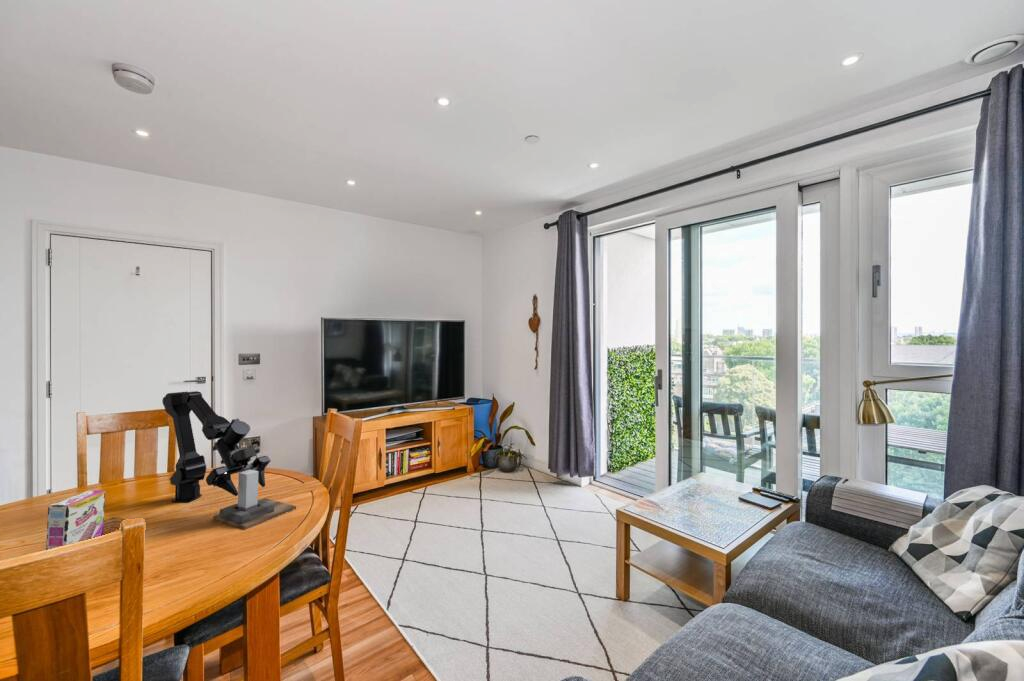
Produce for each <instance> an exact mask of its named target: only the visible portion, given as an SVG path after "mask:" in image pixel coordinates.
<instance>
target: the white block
mask: <svg viewBox="0 0 1024 681" xmlns="http://www.w3.org/2000/svg"><path fill="white" fill-rule="evenodd" d="M258 472H259V471H255V470H251V469H249V470H246V471H242V472H239V473H238V482H237V483H238V486H237V487H238V488H237V489H238V490H237V492H238V495H237V503H238V510H241V511H244V512H245V511H248V510H251V509H254V508H256V507H257V505H258V500H259V499H258V498H259V483H258Z"/></svg>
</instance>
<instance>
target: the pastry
mask: <svg viewBox="0 0 1024 681" xmlns="http://www.w3.org/2000/svg"><path fill="white" fill-rule="evenodd" d="M123 520H126V519H125V518H123V517H122V516H116V515H115V516H112V517H109V518H106V519H104V525H103V535H105V534H108V533H111V532H114V531H116V530H119V528H120V523H121V522H122V521H123Z"/></svg>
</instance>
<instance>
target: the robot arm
mask: <svg viewBox="0 0 1024 681" xmlns="http://www.w3.org/2000/svg"><path fill="white" fill-rule="evenodd" d="M161 402H162V405H163V407H164V411H165V412H166V413H167V414H168V415H169V416H170V417H171V418H172V422H173V427H174V432H175V438H176V443H177V449H178V454H179V458H178V459H177V461H176V464H175V471H174V472H173V474H172V475H171V477H170V478H169V481H170V485H172V486H175V487H174V488H175V492H174V494H175V496H174V499H171V502H174V503H190V502H193V501H194V500H196V499H198V498H200V497H202V496H203V494H201V485H200V481H204V478H205V482H206V485H207V486H213V487H217V488H220V489H222V490H223V491H226V492H228V493H229V494H232V496H235V497H238V490H237V489H238V488H237V487H236V486H235V484H234V482H233V480H232V475H235V474H239V473H240V472H243V471H247V470H250V469H251V470H255V471H259V472H258V485H260V487H262V488H265V486H266V477H265V469H266V468H267V466H268V465H269V463H270V462H271V459H270V457H269V456H268V455H263V456H259V457H256V456H257V454H259V453H260V451H261V449H260V447H259V445H258V443H254V444H252V445H249V447H246V448H240V446H239V445H238V444H240V443H242V441H244V439H245V438H246V436H247V435H248V434H249V433H250V431H251V426H250V424H248V423H247V422H245V421H243V420H240V419H239V418H234V419H233V418H232V420H231V422H230V421H229V420H228V419H227V418H225V417H223V416H220V415H219V414H217V413H216V411H214V410H213V408H212V407H211V406H210V404H209V403H208V402H207V401H206V400H205V399H204V397H203V394H202V392H201V391H198V390H195V391H194V390H193V391H180V392H168V393H166V394H165V396H164V397H163V398H162V401H161ZM191 412H192V413H193V414H194V415H195V416H196V418H197V419H198V420H199V422H200V423H201V425H202V428H201V431H202V433H203V435H204V437H205V438H206V439H207V440H208V441H212V440H217V441H215V442H214V444H213V446H212V451H217V452H218V454H219V456H220V458H221V459H222V460H220V464H221V465H222V466H219V467H216V468H213V469H212V470H211V471H210V472H209V474H208V475H207V476H206V477H205V475H206V472H207V464H206V459H205V456H204V455H203V454H202V455H200V454H199V453H198V452H197V449H196V443H195V437H194V433H193V427H192V422H191V420H192V419H191V415H190V413H191ZM253 457H255V458H254V460H253V461H252V462H251V463H249V462H250V461H251V460H252V458H253Z"/></svg>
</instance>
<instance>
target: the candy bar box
mask: <svg viewBox="0 0 1024 681" xmlns="http://www.w3.org/2000/svg"><path fill="white" fill-rule="evenodd" d="M105 498H106V491H105V490H86V491H84V492H81V493H78V494H76V495H73V496H70V497H68V498H65V499H62V500H60V501H57V502H55V503H52V504H49V505H48V506H47V523H46V524H47V525H46V547H45V548H46V549H45V551H46V550H48V549H52V548H55V547H59V546H64V545H68V544H72V543H76V542H80V541H84V540H88V539H92V538H95V537H98V536H102V535H103V525H104V521H105V518H104V517H105V501H106V499H105Z"/></svg>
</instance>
